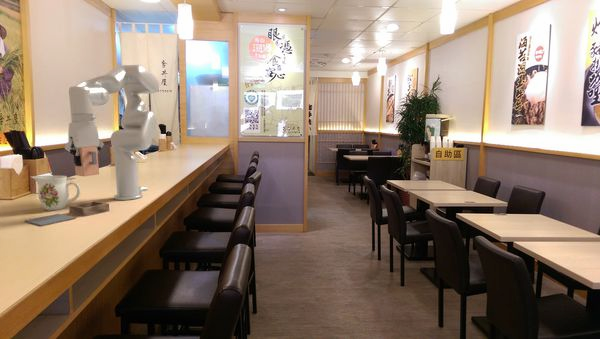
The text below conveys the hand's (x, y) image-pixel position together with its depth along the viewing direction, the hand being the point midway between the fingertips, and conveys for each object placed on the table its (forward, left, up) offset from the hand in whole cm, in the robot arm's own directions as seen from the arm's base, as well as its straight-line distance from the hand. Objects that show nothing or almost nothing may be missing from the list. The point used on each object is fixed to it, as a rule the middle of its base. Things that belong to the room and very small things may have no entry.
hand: (86, 164), depth 163 cm
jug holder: (0, 0, -19) cm, 19 cm away
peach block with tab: (0, +2, -4) cm, 4 cm away
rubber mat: (+15, 0, -19) cm, 24 cm away
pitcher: (+3, -18, -19) cm, 26 cm away
